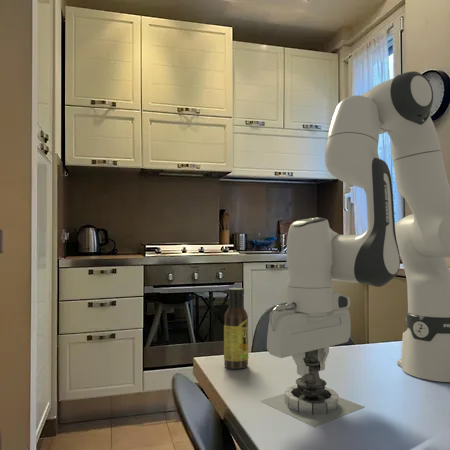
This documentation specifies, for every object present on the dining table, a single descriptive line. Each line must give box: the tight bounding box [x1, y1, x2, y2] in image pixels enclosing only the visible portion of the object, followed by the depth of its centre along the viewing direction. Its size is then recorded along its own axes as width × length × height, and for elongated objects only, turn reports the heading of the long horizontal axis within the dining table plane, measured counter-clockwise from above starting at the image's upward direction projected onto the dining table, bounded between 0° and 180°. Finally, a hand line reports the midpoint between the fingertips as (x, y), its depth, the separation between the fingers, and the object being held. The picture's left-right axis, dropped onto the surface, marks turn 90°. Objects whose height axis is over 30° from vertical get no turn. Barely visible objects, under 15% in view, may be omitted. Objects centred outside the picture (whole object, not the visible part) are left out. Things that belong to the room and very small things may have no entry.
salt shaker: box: [295, 349, 327, 401], centre depth 79 cm, size 6×6×12 cm
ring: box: [284, 384, 339, 415], centre depth 79 cm, size 10×10×2 cm
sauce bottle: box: [223, 287, 249, 370], centre depth 105 cm, size 6×6×20 cm
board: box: [260, 392, 365, 428], centre depth 79 cm, size 14×14×1 cm
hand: (311, 372), depth 79 cm, fingers closed on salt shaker, 3 cm apart
